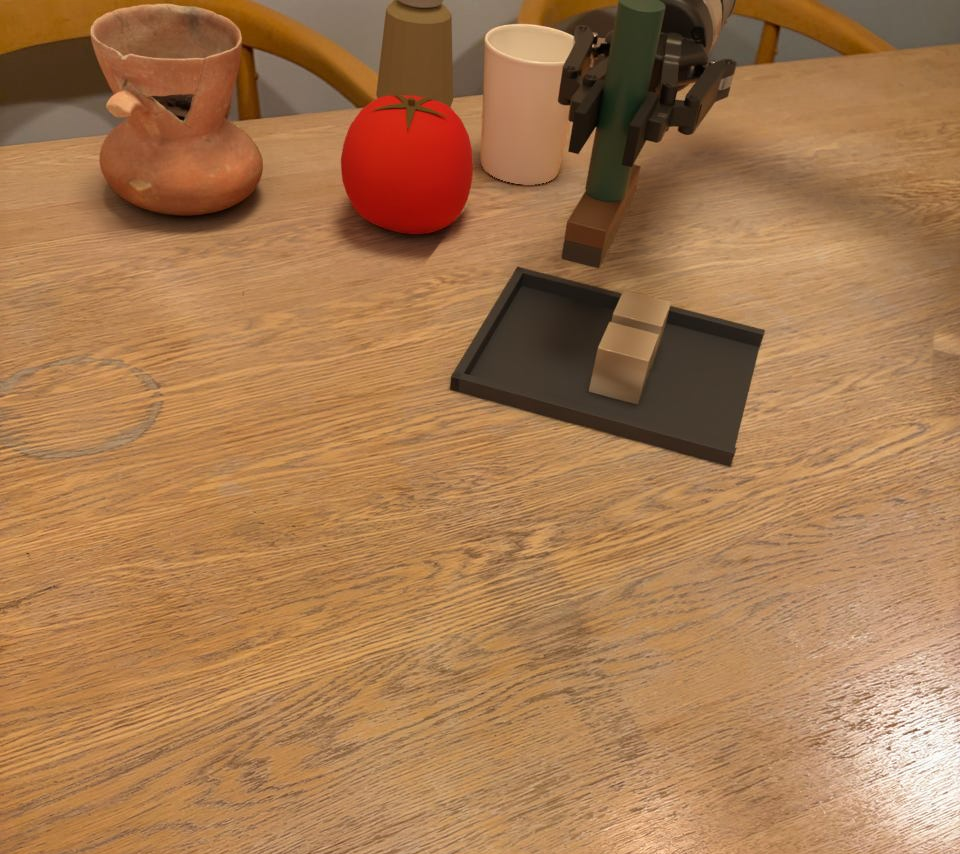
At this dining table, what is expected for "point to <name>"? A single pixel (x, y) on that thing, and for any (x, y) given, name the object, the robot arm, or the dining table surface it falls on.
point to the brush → (615, 133)
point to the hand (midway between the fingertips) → (603, 139)
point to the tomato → (407, 164)
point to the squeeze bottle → (417, 51)
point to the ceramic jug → (174, 109)
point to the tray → (571, 356)
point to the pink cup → (524, 103)
